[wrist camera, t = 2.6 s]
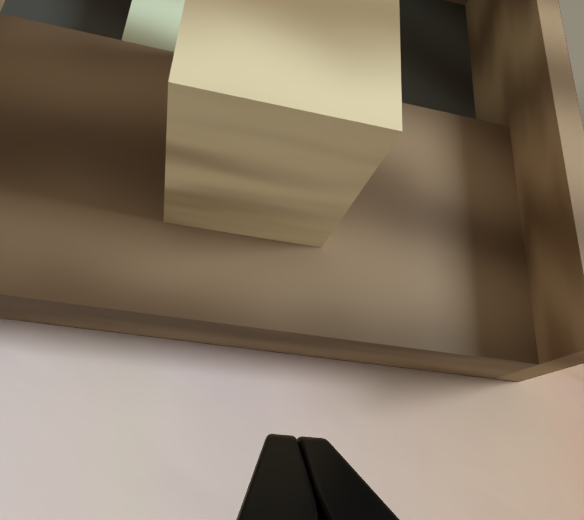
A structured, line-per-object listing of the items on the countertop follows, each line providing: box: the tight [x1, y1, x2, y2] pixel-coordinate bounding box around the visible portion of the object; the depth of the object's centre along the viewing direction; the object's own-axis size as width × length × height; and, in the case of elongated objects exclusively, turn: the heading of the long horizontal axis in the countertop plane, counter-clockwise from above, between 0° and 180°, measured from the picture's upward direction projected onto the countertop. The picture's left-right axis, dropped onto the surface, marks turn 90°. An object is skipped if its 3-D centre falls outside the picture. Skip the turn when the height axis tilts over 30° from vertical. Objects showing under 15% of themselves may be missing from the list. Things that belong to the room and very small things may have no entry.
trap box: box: [0, 0, 584, 382], centre depth 23 cm, size 24×26×6 cm
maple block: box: [163, 0, 402, 248], centre depth 18 cm, size 8×6×8 cm
